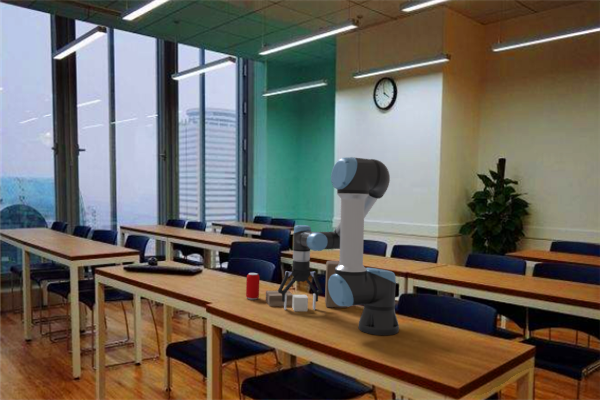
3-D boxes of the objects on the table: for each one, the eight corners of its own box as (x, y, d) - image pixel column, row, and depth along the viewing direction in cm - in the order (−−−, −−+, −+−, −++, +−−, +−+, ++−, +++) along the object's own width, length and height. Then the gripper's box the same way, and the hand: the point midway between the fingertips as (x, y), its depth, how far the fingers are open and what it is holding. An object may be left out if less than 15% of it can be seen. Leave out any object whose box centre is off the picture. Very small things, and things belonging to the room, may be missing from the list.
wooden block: (347, 308, 206) (349, 264, 206) (325, 307, 206) (327, 263, 206) (346, 303, 216) (347, 261, 216) (324, 302, 216) (326, 260, 216)
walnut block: (293, 306, 208) (293, 295, 208) (269, 306, 206) (269, 295, 206) (288, 300, 219) (288, 290, 219) (265, 301, 217) (265, 290, 216)
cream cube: (307, 311, 199) (307, 297, 199) (293, 311, 198) (294, 297, 198) (305, 308, 205) (305, 294, 205) (292, 308, 204) (292, 294, 204)
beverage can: (254, 300, 215) (255, 275, 215) (243, 298, 218) (244, 273, 218) (261, 298, 221) (262, 273, 221) (250, 296, 224) (251, 272, 224)
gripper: (326, 259, 207) (325, 306, 207) (272, 258, 203) (271, 306, 204) (330, 261, 199) (328, 311, 200) (274, 261, 196) (272, 311, 196)
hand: (299, 309), depth 202 cm, fingers open, 12 cm apart
